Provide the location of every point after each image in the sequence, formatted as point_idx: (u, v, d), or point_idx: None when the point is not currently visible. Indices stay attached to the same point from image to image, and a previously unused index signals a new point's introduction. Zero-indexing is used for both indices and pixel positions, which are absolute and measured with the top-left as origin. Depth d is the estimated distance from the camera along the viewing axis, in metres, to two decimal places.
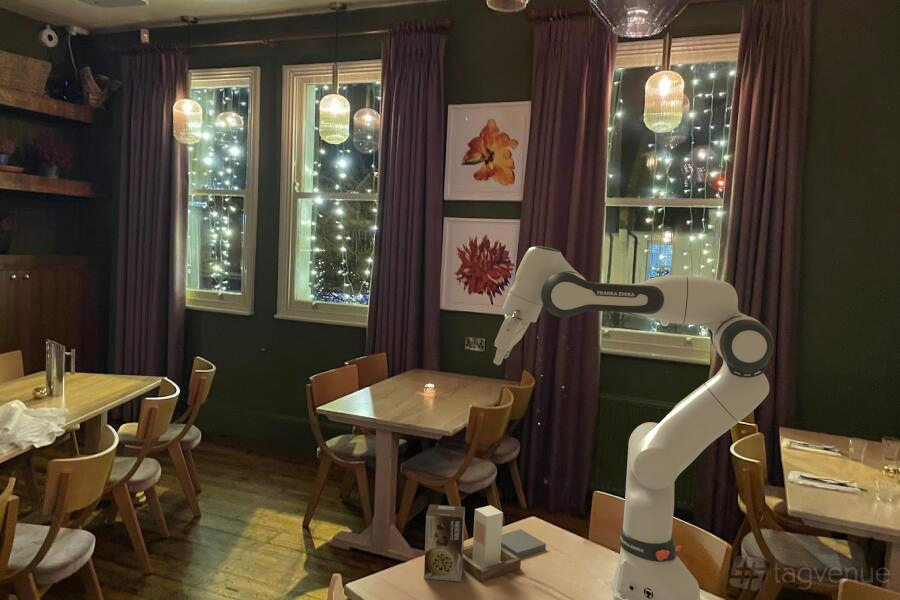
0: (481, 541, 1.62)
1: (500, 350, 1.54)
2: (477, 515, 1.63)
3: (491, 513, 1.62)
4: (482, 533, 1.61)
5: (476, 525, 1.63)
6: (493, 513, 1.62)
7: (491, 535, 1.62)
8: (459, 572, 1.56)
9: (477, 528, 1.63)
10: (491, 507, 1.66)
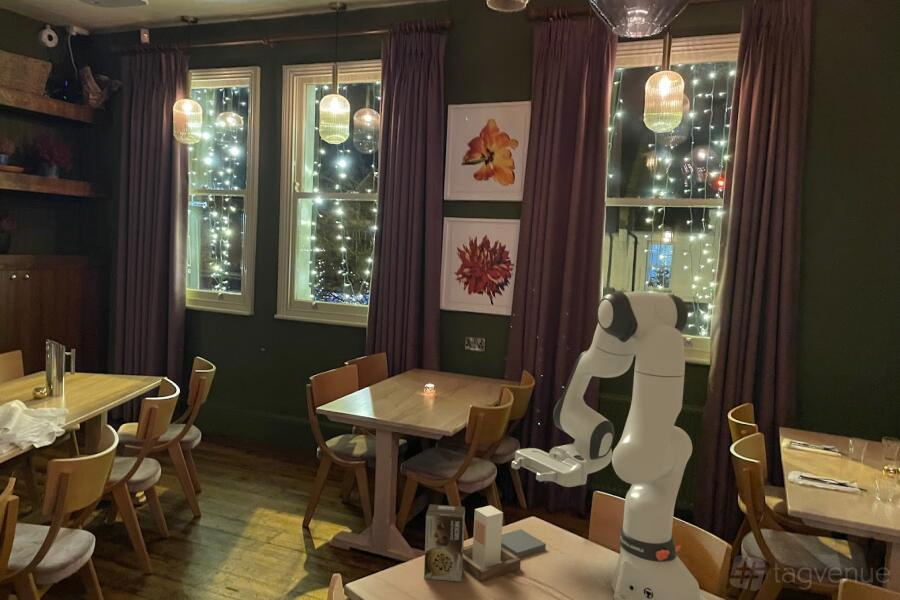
0: (481, 541, 1.62)
1: None
2: (477, 515, 1.63)
3: (491, 513, 1.62)
4: (482, 533, 1.61)
5: (476, 525, 1.63)
6: (493, 513, 1.62)
7: (491, 535, 1.62)
8: (459, 572, 1.56)
9: (477, 528, 1.63)
10: (491, 507, 1.66)
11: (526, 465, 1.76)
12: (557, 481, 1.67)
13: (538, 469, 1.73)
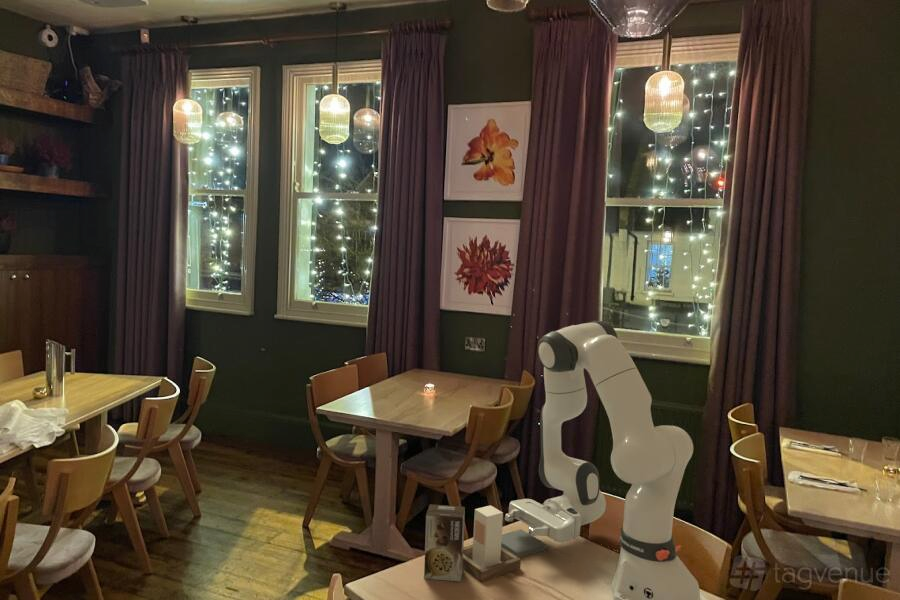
0: (481, 541, 1.62)
1: None
2: (477, 515, 1.63)
3: (491, 513, 1.62)
4: (482, 533, 1.61)
5: (476, 525, 1.63)
6: (493, 513, 1.62)
7: (491, 535, 1.62)
8: (459, 572, 1.56)
9: (477, 528, 1.63)
10: (491, 507, 1.66)
11: (520, 517, 1.77)
12: (550, 536, 1.67)
13: (531, 522, 1.74)
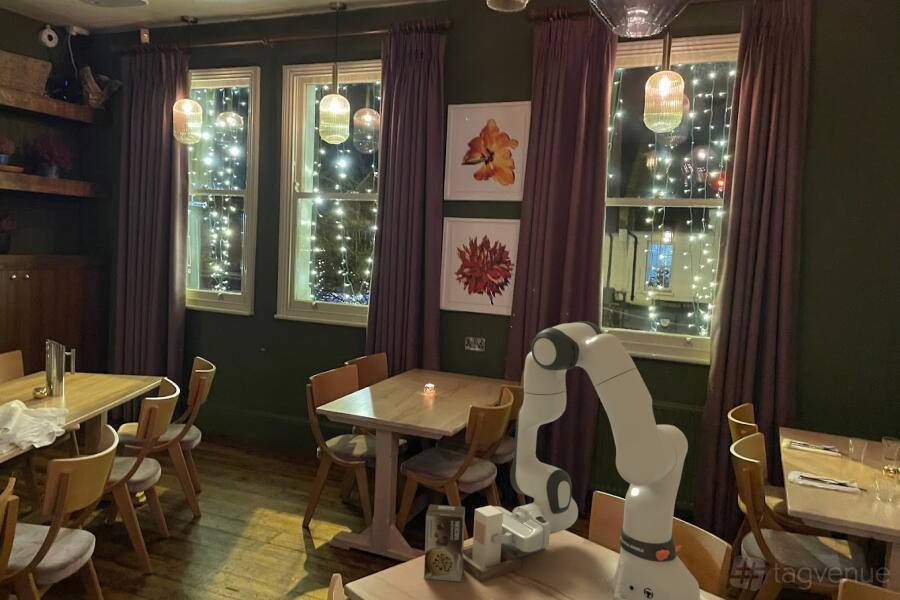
0: (481, 541, 1.62)
1: None
2: (477, 515, 1.63)
3: (491, 513, 1.62)
4: (482, 533, 1.61)
5: (476, 525, 1.63)
6: (493, 513, 1.62)
7: (491, 535, 1.62)
8: (459, 572, 1.56)
9: (477, 528, 1.63)
10: (491, 507, 1.66)
11: None
12: (517, 546, 1.61)
13: None
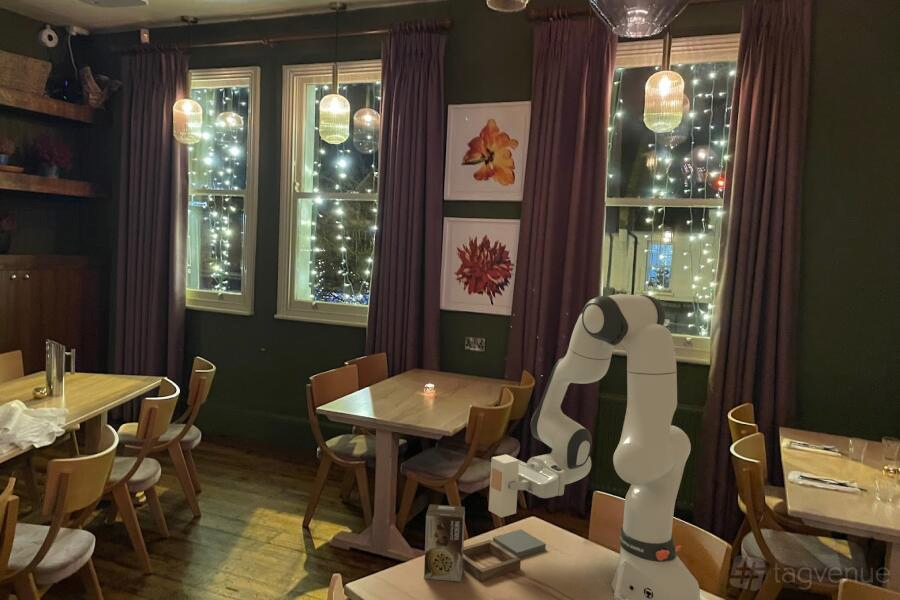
0: (498, 488, 1.65)
1: None
2: (494, 463, 1.66)
3: (508, 460, 1.65)
4: (499, 480, 1.65)
5: (493, 473, 1.66)
6: (510, 460, 1.65)
7: (507, 482, 1.65)
8: (459, 572, 1.56)
9: (494, 476, 1.66)
10: (507, 456, 1.69)
11: None
12: (533, 492, 1.64)
13: None
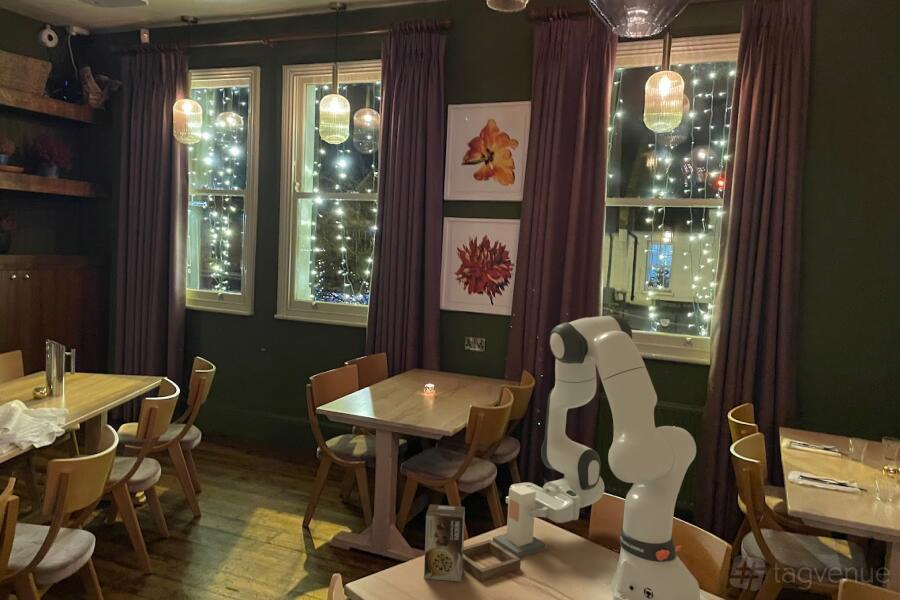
0: (515, 518, 1.73)
1: None
2: (512, 494, 1.74)
3: (525, 492, 1.73)
4: (516, 511, 1.72)
5: (510, 503, 1.74)
6: (527, 492, 1.73)
7: (524, 512, 1.72)
8: (459, 572, 1.56)
9: (511, 506, 1.74)
10: (524, 487, 1.76)
11: None
12: (550, 517, 1.71)
13: None
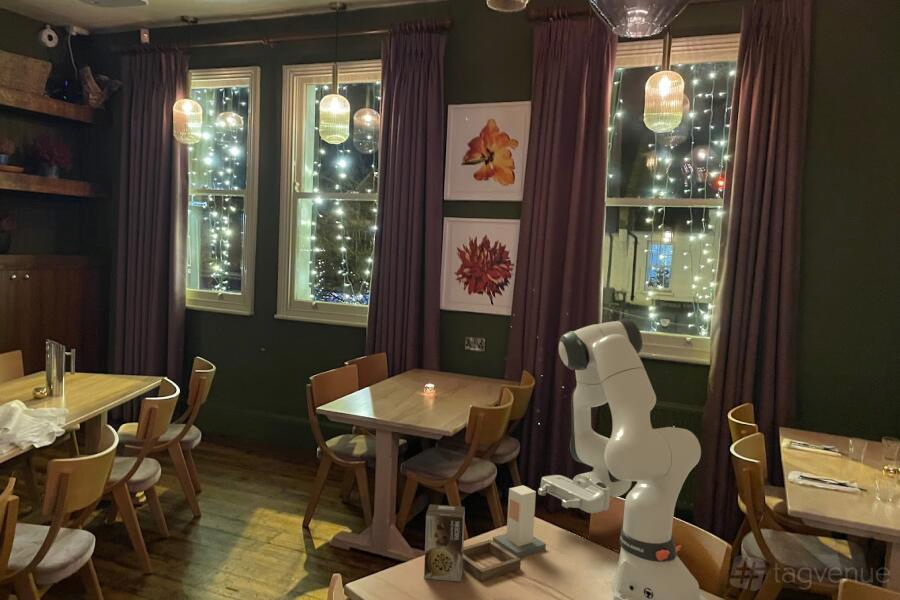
0: (515, 518, 1.73)
1: None
2: (512, 494, 1.74)
3: (525, 492, 1.73)
4: (516, 511, 1.72)
5: (510, 503, 1.74)
6: (527, 492, 1.73)
7: (524, 512, 1.72)
8: (459, 572, 1.56)
9: (511, 506, 1.74)
10: (524, 487, 1.76)
11: (552, 491, 1.88)
12: (582, 507, 1.78)
13: (563, 496, 1.85)
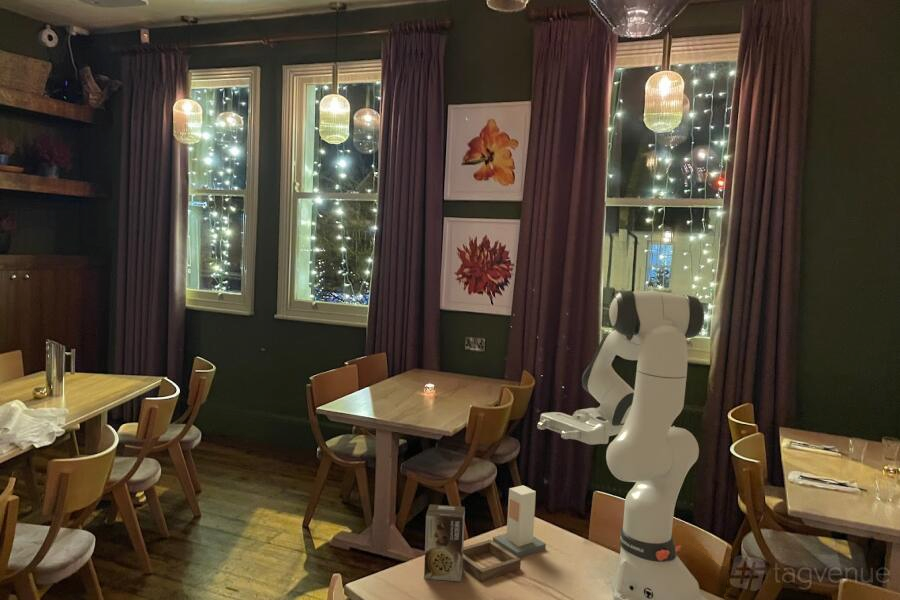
0: (515, 518, 1.73)
1: None
2: (512, 494, 1.74)
3: (525, 492, 1.73)
4: (516, 511, 1.72)
5: (510, 503, 1.74)
6: (527, 492, 1.73)
7: (524, 512, 1.72)
8: (459, 572, 1.56)
9: (511, 506, 1.74)
10: (524, 487, 1.76)
11: (551, 427, 1.87)
12: (581, 439, 1.77)
13: (562, 430, 1.83)
